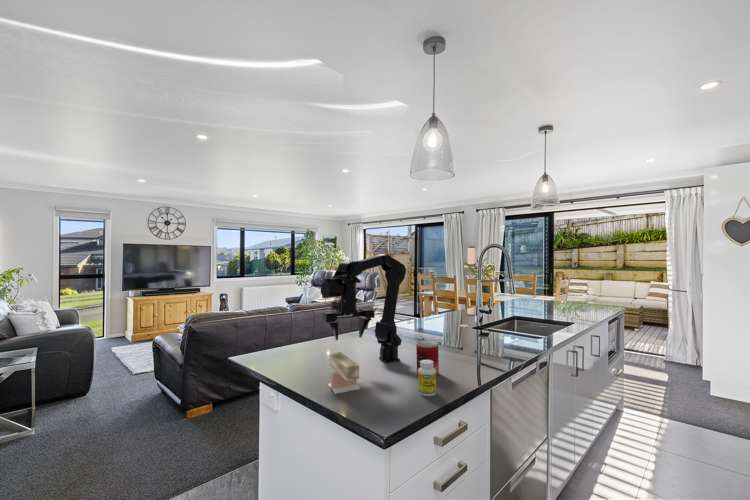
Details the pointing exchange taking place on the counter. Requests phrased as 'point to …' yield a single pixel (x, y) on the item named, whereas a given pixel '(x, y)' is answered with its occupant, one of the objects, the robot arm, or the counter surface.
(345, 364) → the beam
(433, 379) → the supplement bottle
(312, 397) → the counter surface
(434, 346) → the canned food
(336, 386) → the fulcrum
